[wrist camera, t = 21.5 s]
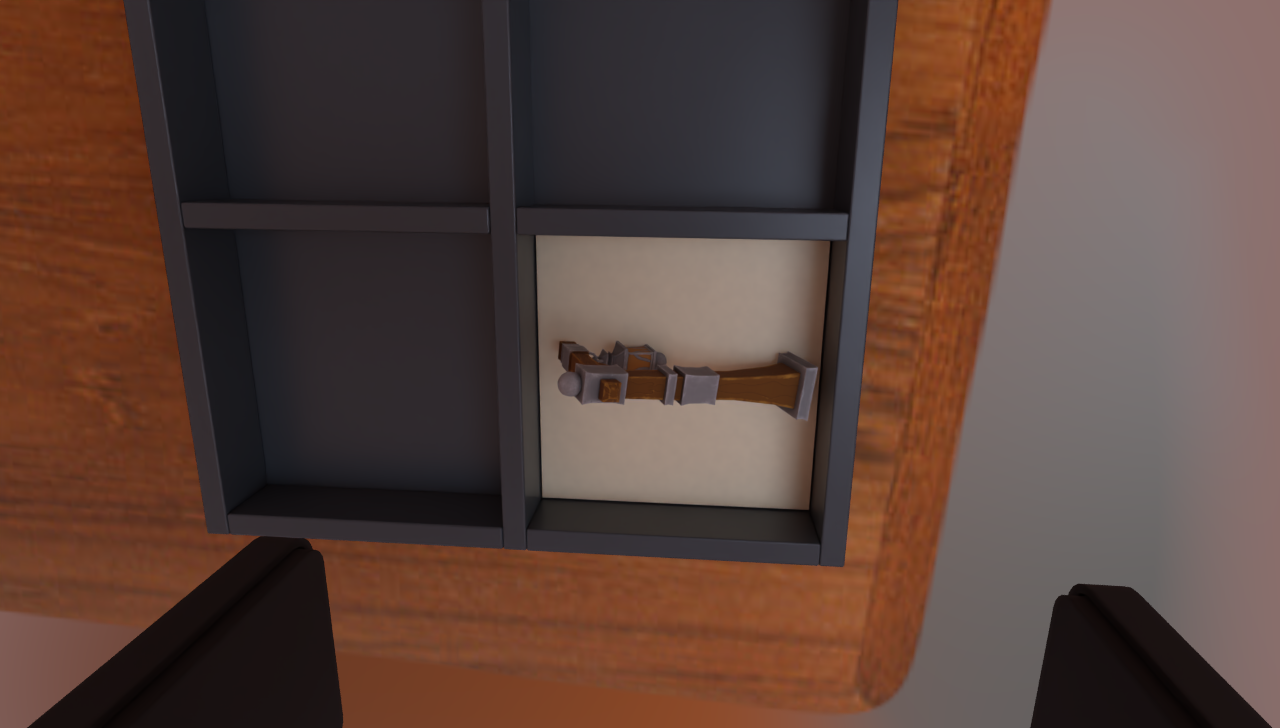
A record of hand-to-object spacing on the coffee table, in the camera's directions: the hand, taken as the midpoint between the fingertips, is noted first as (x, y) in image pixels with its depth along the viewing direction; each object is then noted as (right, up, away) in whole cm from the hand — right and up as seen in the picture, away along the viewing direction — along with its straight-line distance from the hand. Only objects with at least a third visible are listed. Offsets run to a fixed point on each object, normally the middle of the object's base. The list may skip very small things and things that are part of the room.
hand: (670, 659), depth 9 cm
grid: (-4, +9, +15) cm, 18 cm away
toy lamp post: (+1, +4, +15) cm, 16 cm away
